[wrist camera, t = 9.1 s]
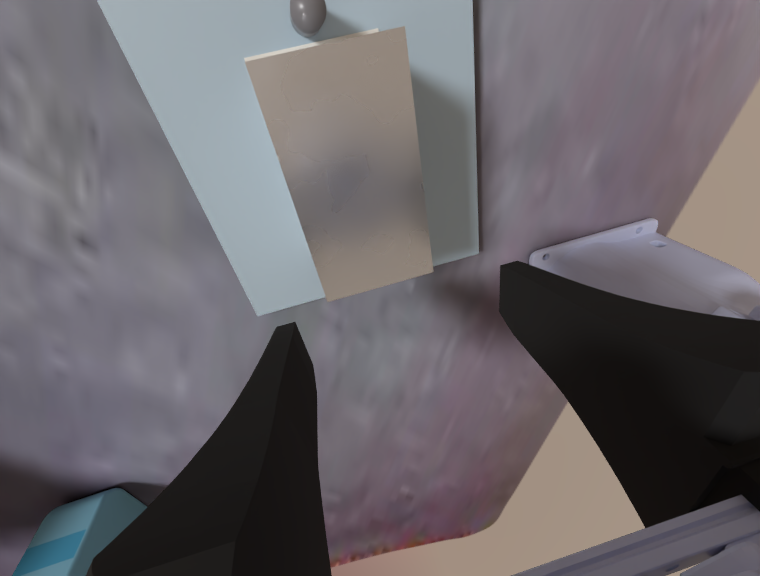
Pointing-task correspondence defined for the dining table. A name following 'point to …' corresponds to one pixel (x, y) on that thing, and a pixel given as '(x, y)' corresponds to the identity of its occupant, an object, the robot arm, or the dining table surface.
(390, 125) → the brushed metal pillar
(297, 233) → the pegged base plate
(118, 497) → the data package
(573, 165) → the dining table surface
